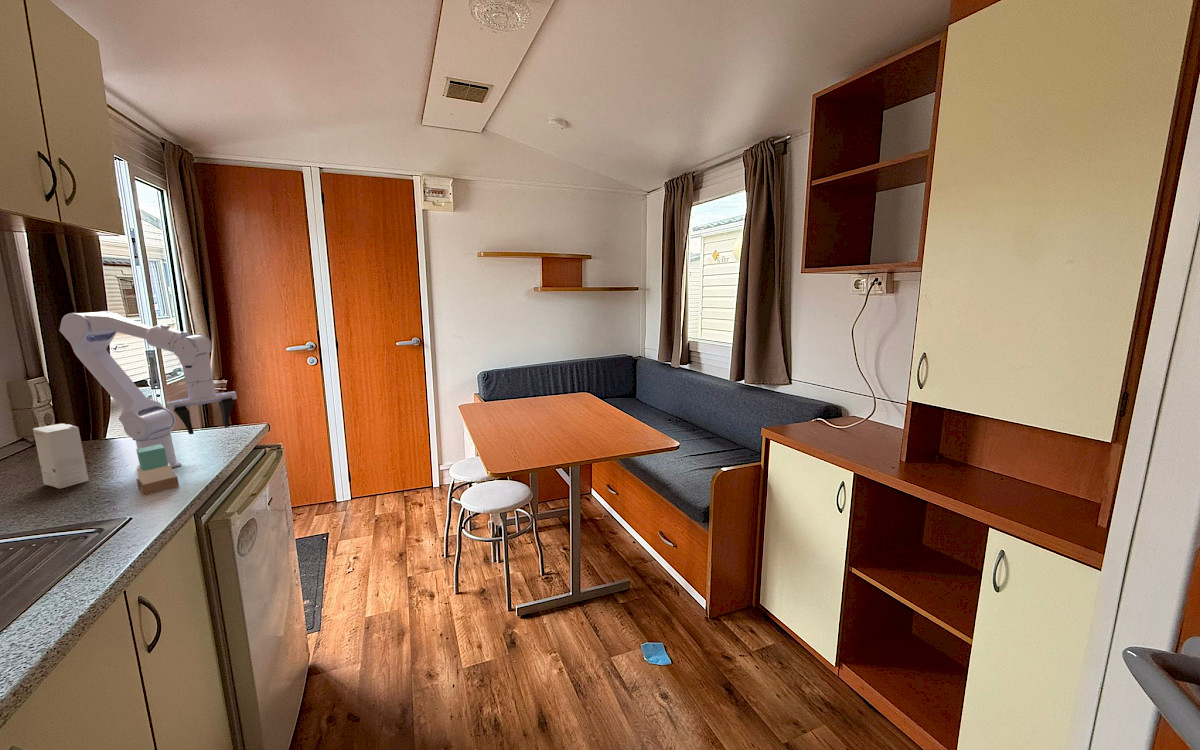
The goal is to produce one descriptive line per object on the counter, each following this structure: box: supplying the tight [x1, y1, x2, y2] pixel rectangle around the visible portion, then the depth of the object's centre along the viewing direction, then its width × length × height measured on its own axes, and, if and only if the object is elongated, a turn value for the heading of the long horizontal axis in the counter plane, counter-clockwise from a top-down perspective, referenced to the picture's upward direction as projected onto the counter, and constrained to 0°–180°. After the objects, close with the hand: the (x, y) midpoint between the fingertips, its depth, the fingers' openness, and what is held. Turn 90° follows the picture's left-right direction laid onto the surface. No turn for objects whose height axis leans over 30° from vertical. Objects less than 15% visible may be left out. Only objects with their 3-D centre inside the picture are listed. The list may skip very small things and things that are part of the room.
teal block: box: [135, 444, 168, 471], centre depth 119 cm, size 4×4×4 cm
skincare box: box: [32, 423, 90, 490], centre depth 125 cm, size 8×6×15 cm
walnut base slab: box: [136, 471, 180, 496], centre depth 121 cm, size 6×6×3 cm
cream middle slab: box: [135, 463, 174, 485], centre depth 120 cm, size 6×6×3 cm
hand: (208, 429), depth 134 cm, fingers open, 7 cm apart
